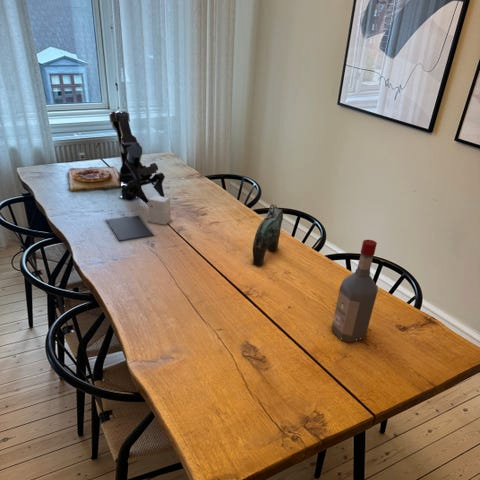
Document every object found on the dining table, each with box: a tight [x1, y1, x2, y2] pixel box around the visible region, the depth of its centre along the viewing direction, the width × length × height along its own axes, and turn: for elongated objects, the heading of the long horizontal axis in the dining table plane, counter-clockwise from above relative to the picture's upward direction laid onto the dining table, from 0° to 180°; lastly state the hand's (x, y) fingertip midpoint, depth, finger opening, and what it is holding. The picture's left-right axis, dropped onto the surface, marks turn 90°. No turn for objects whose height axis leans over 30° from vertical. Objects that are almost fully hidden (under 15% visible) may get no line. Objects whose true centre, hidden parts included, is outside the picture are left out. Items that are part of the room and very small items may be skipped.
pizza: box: [67, 165, 122, 193], centre depth 237 cm, size 35×28×4 cm
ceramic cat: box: [252, 204, 284, 267], centre depth 170 cm, size 20×6×20 cm, turn 154°
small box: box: [147, 194, 172, 226], centre depth 195 cm, size 8×6×10 cm
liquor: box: [330, 239, 379, 344], centre depth 128 cm, size 9×9×30 cm
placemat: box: [106, 215, 154, 242], centre depth 190 cm, size 22×14×1 cm, turn 27°
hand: (155, 199), depth 193 cm, fingers open, 9 cm apart
